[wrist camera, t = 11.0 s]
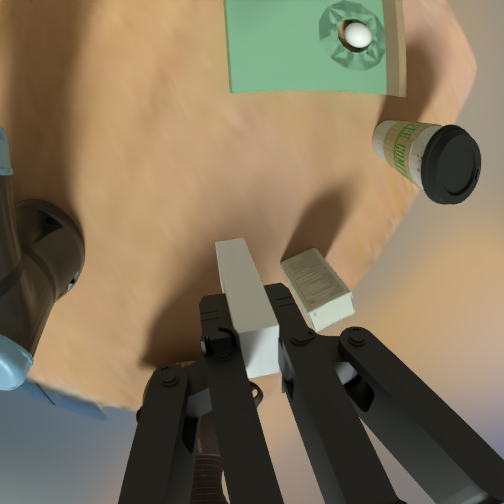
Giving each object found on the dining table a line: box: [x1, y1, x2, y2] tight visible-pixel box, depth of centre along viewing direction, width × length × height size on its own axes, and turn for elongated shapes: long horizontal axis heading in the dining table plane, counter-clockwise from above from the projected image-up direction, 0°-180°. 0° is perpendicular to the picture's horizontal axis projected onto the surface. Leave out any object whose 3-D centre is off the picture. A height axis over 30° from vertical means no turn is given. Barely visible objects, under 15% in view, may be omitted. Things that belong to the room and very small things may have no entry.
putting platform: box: [224, 0, 406, 97], centre depth 29 cm, size 22×16×5 cm
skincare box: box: [280, 247, 355, 332], centre depth 43 cm, size 6×4×12 cm
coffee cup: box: [372, 120, 481, 204], centre depth 34 cm, size 10×10×15 cm
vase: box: [136, 361, 263, 504], centre depth 43 cm, size 23×19×30 cm
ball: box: [344, 23, 372, 48], centre depth 30 cm, size 4×4×4 cm
